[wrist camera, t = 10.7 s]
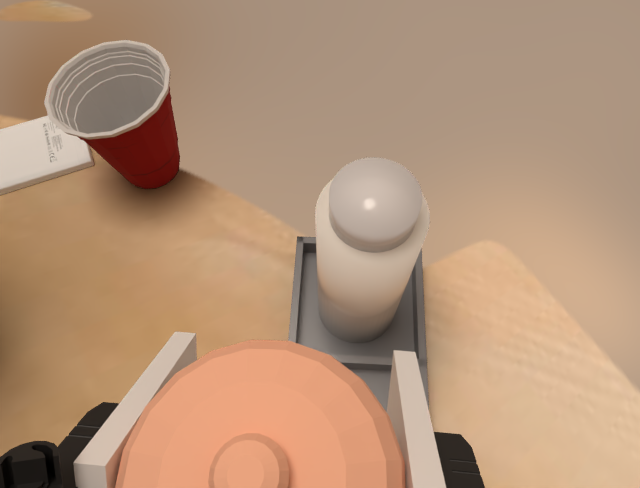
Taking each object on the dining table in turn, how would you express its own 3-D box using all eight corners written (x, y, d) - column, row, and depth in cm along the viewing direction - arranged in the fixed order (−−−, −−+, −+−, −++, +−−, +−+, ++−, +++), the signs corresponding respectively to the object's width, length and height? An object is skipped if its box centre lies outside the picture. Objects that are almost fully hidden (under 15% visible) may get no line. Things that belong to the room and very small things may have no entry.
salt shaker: (316, 341, 42) (310, 246, 26) (320, 268, 45) (318, 144, 29) (395, 345, 41) (440, 252, 25) (394, 272, 45) (433, 148, 29)
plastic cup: (96, 138, 53) (38, 50, 42) (194, 118, 54) (162, 27, 44) (101, 221, 48) (38, 145, 38) (209, 197, 50) (177, 117, 39)
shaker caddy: (277, 508, 37) (273, 509, 34) (298, 251, 47) (297, 236, 44) (425, 517, 36) (434, 519, 34) (415, 256, 46) (421, 242, 44)
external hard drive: (-30, 148, 54) (83, 114, 56) (-24, 207, 50) (96, 168, 52) (-40, 139, 52) (76, 104, 54) (-34, 198, 49) (90, 159, 51)
